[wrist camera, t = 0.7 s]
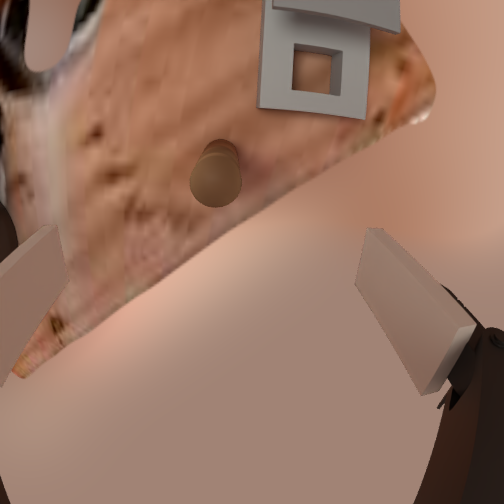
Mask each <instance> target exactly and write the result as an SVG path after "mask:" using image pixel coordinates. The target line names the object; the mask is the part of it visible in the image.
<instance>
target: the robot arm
mask: <svg viewBox="0 0 504 504" xmlns="http://www.w3.org/2000/svg"><path fill="white" fill-rule="evenodd" d="M68 282H69V277H68V273H67V269H66V265H65V261H64V256H63V252H62V247H61V242H60V238H59V232H58V227H57V225H44V226H42V227H41V228H40V229H39V230H38V231H36V232H35V233H34V234H33V235H32V236H30V237H29V238H28V239H27V240H26V241H25V242H23V243H22V244H21V245H20V246H19V247H18V248H17V238H16V233H15V229H14V226H13V223H12V220H11V218H10V216H9V214H8V212H7V211H6V209H5V208H4V206H3V205H2V204H1V202H0V387H2V386H3V384H4V382H5V381H6V379H7V377H8V375H9V373H10V372H11V370H12V368H13V366H14V365H15V363H16V361H17V359H18V358H19V356H20V354H21V353H22V351H23V349H24V348H25V346H26V344H27V343H28V341H29V340H30V338H31V336H32V335H33V333H34V332H35V330H36V329H37V327H38V325H39V324H40V322H41V321H42V319H43V318H44V316H45V315H46V313H47V312H48V310H49V309H50V308H51V306H52V305H53V303H54V302H55V300H56V299H57V297H58V296H59V295H60V293H61V292H62V290H63V289H64V288H65V286H66V285H67V284H68ZM355 285H356V287H357V288H358V290H359V292H360V293H361V295H362V296H363V298H364V300H365V301H366V303H367V304H368V306H369V307H370V309H371V311H372V312H373V314H374V316H375V317H376V319H377V320H378V322H379V324H380V325H381V327H382V329H383V330H384V332H385V334H386V335H387V337H388V339H389V341H390V342H391V344H392V345H393V347H394V349H395V351H396V352H397V354H398V356H399V358H400V359H401V361H402V363H403V365H404V366H405V368H406V370H407V372H408V374H409V375H410V377H411V379H412V381H413V383H414V384H415V386H416V388H417V390H418V392H419V394H420V395H421V396H423V395H427V394H430V393H434V392H438V391H439V390H440V389H441V387H442V385H443V384H444V382H445V381H446V379H447V378H448V380H449V381H450V383H451V385H452V386H451V387H450V389H449V390H448V392H447V393H446V394H445V396H444V397H443V399H442V400H441V402H440V403H439V405H438V407H437V408H438V409H440V407H441V406H442V405H443V404H444V403H445V405H444V410H443V414H442V418H441V422H440V426H439V430H438V434H437V438H436V441H435V444H434V448H433V451H432V455H431V457H430V461H429V464H428V466H427V469H426V472H425V475H424V478H423V481H422V484H421V486H420V489H419V491H418V494H417V496H416V499H415V501H414V503H413V504H504V331H502V330H500V329H498V328H493V327H490V328H486V329H485V328H484V327H483V326H482V325H481V323H480V322H479V321H478V320H477V319H476V318H475V317H474V316H473V315H472V313H471V312H470V311H469V310H468V309H467V308H466V307H464V305H463V304H462V303H461V301H460V300H457V297H456V296H455V295H454V294H453V293H452V292H451V291H450V290H449V289H447V288H446V287H444V286H443V285H441V284H440V283H439V282H438V281H437V280H435V278H434V277H433V276H432V275H431V274H430V273H429V272H428V271H427V270H426V269H425V268H424V267H423V266H422V265H421V264H420V263H419V262H417V260H416V259H415V258H413V257H412V256H411V255H410V254H409V253H408V252H407V251H406V250H405V249H404V248H403V247H402V246H401V245H400V244H399V243H398V242H396V240H394V239H393V238H392V237H391V236H390V235H389V234H388V233H387V232H386V231H385V230H384V229H382V228H367V230H366V235H365V240H364V245H363V250H362V254H361V259H360V263H359V267H358V272H357V276H356V281H355ZM0 504H10V501H9V499H8V496H7V494H6V491H5V488H4V485H3V482H2V479H1V477H0Z"/></svg>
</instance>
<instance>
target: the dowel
mask: <svg viewBox="0 0 504 504" xmlns="http://www.w3.org/2000/svg"><path fill="white" fill-rule="evenodd" d="M241 186H242V179H241V173H240V168H239V162H238V157H237V152H236V149H235V147H234V146H233V144H232V143H230V142H229V141H227V140H223V139H218V140H214V141H212V142H211V143H209V144H208V145H207V147H206V148H205V150H204V152H203V153H202V155H201V157H200V159H199V160H198V162H197V164H196V166H195V167H194V169H193V171H192V173H191V176H190V189H191V192H192V194H193V196H194V197H195V198H196V199H197V200H198V201H199V202H200V203H202V204H203V205H205V206H208V207H215V208H216V207H223V206H226V205H228V204H230V203H231V202H233V201H234V200H235V199H236V197H237V196H238V194H239V193H240V190H241Z"/></svg>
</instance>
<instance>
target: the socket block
mask: <svg viewBox="0 0 504 504" xmlns="http://www.w3.org/2000/svg"><path fill="white" fill-rule="evenodd" d="M370 27H371V28H375V29H379V30H382V31H385V32H389V33H392V34H395V35H396V34H399V33H400V0H262V15H261V33H260V50H259V68H258V86H257V104H256V108H268V109H281V110H293V111H303V112H312V113H321V114H328V115H336V116H343V117H349V118H356V119H363V120H365V117H366V105H367V92H368V77H369V57H370ZM294 50H297V51H305V52H312V53H318V54H324V55H330V56H332V60H331V78H330V93H329V94H322V93H314V92H306V91H297V90H291V89H292V73H293V55H294Z"/></svg>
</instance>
